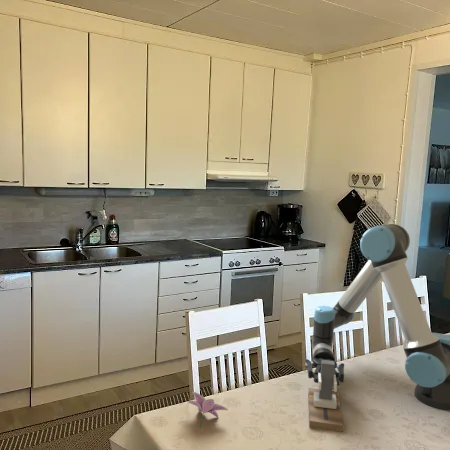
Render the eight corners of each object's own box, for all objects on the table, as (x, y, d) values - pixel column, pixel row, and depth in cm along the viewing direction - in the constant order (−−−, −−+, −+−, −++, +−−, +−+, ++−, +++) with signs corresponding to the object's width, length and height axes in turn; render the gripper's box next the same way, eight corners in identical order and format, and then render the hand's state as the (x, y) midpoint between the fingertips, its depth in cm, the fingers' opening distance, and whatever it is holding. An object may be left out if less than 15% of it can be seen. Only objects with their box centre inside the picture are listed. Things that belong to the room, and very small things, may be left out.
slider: (313, 397, 155) (316, 357, 153) (335, 400, 154) (338, 359, 152) (314, 406, 149) (317, 364, 148) (336, 409, 148) (339, 367, 146)
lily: (230, 431, 139) (234, 397, 142) (202, 428, 131) (206, 392, 135) (203, 427, 147) (207, 395, 150) (175, 424, 139) (179, 390, 143)
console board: (308, 393, 163) (308, 387, 162) (337, 396, 161) (337, 391, 161) (309, 426, 141) (309, 420, 141) (342, 431, 140) (343, 425, 139)
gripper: (346, 370, 168) (354, 401, 145) (298, 364, 170) (299, 394, 147) (348, 350, 167) (356, 378, 144) (300, 345, 169) (300, 372, 146)
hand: (327, 386), depth 145 cm, fingers closed on slider, 4 cm apart
